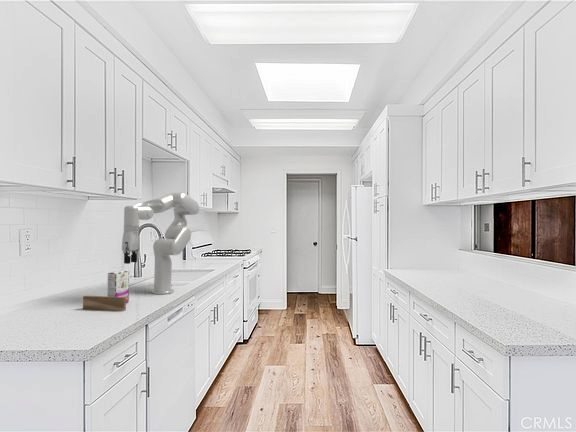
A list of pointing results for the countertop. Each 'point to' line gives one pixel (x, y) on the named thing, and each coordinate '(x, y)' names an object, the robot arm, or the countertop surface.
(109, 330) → the countertop surface
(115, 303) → the board
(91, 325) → the countertop surface
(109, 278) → the candy bar box
